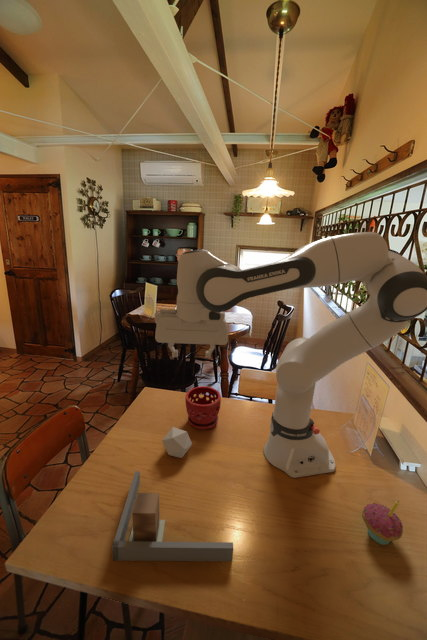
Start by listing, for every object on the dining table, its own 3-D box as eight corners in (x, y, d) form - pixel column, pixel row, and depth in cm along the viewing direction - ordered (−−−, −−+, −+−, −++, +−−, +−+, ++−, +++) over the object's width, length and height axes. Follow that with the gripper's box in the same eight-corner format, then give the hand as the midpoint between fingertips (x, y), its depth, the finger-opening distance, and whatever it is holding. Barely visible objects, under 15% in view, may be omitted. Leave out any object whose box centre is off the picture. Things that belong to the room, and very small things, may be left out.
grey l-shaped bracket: (226, 484, 81) (227, 473, 80) (232, 561, 62) (233, 548, 61) (135, 482, 80) (135, 471, 79) (113, 560, 61) (112, 547, 60)
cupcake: (393, 525, 72) (404, 488, 68) (403, 559, 64) (416, 520, 60) (356, 513, 74) (365, 477, 71) (361, 545, 66) (372, 506, 63)
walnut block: (159, 524, 68) (159, 493, 66) (155, 546, 64) (155, 513, 61) (138, 524, 68) (137, 492, 65) (133, 546, 64) (132, 512, 61)
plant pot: (190, 409, 115) (191, 383, 112) (221, 414, 113) (223, 388, 109) (180, 430, 103) (181, 401, 99) (215, 436, 100) (217, 407, 97)
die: (196, 450, 94) (187, 420, 96) (192, 457, 85) (182, 424, 88) (172, 459, 94) (163, 429, 96) (166, 466, 85) (156, 433, 88)
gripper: (152, 311, 73) (152, 360, 77) (230, 315, 74) (227, 363, 78) (156, 306, 79) (156, 351, 83) (228, 309, 80) (225, 353, 84)
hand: (191, 357), depth 80 cm, fingers open, 8 cm apart
